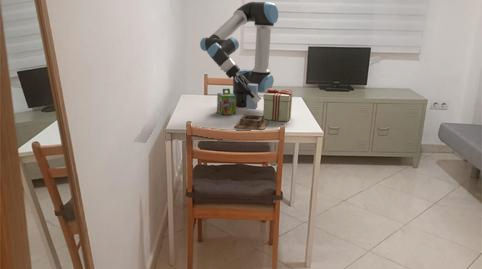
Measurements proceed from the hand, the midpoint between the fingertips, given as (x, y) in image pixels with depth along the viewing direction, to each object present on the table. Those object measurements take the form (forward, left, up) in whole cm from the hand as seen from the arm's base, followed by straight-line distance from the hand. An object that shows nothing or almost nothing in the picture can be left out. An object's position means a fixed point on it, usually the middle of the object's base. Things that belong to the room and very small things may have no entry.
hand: (258, 100), depth 238 cm
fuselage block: (-3, -2, -4) cm, 6 cm away
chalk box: (-31, +7, -14) cm, 35 cm away
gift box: (-5, +23, -14) cm, 28 cm away
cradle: (-3, -1, -14) cm, 15 cm away
